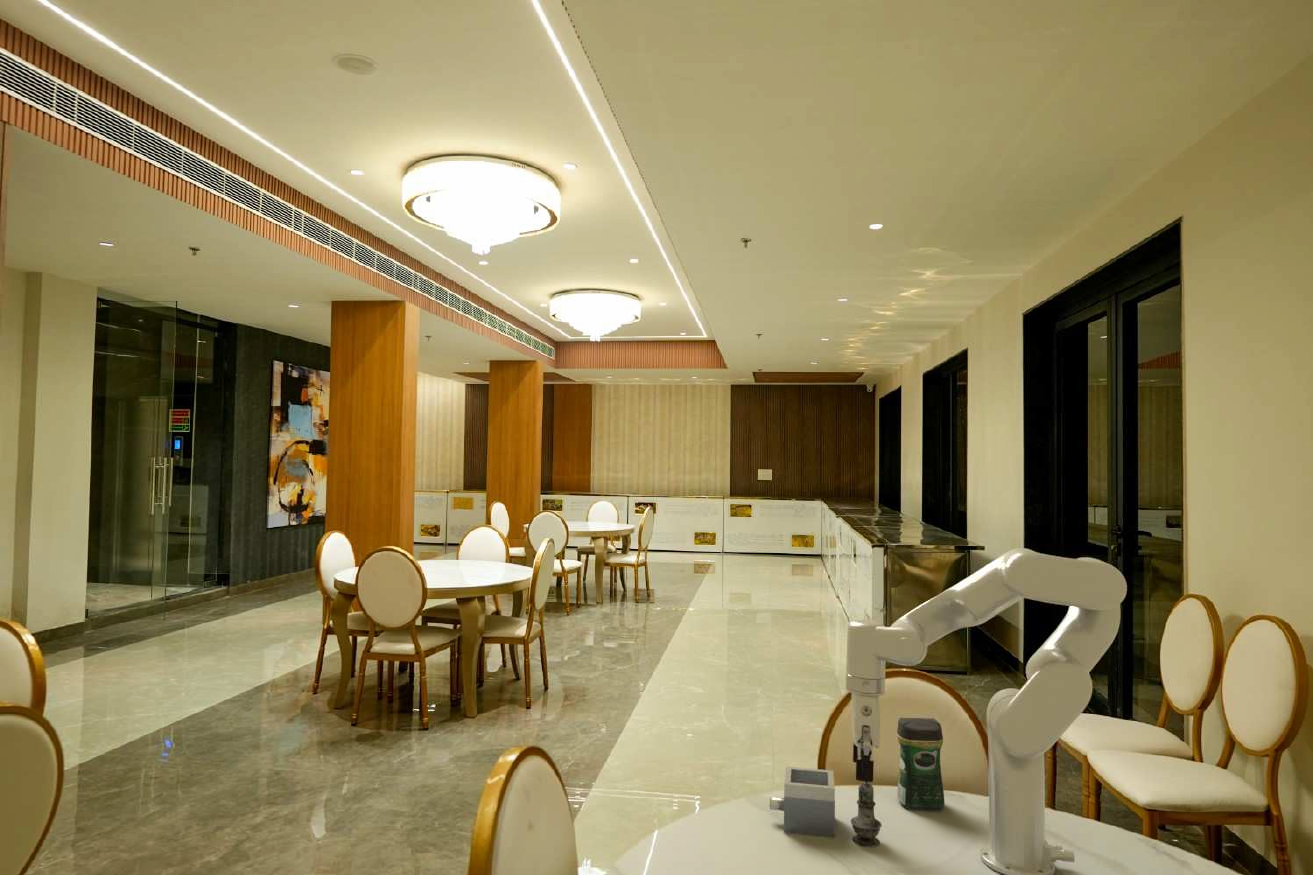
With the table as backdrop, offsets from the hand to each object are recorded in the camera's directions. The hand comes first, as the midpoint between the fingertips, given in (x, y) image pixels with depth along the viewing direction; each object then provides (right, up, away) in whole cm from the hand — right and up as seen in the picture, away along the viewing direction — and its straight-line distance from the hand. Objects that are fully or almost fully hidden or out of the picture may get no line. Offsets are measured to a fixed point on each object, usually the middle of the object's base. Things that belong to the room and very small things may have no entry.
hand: (862, 771), depth 153 cm
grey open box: (-11, -14, +7) cm, 19 cm away
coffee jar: (+17, -15, +17) cm, 28 cm away
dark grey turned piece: (0, -14, -1) cm, 14 cm away
